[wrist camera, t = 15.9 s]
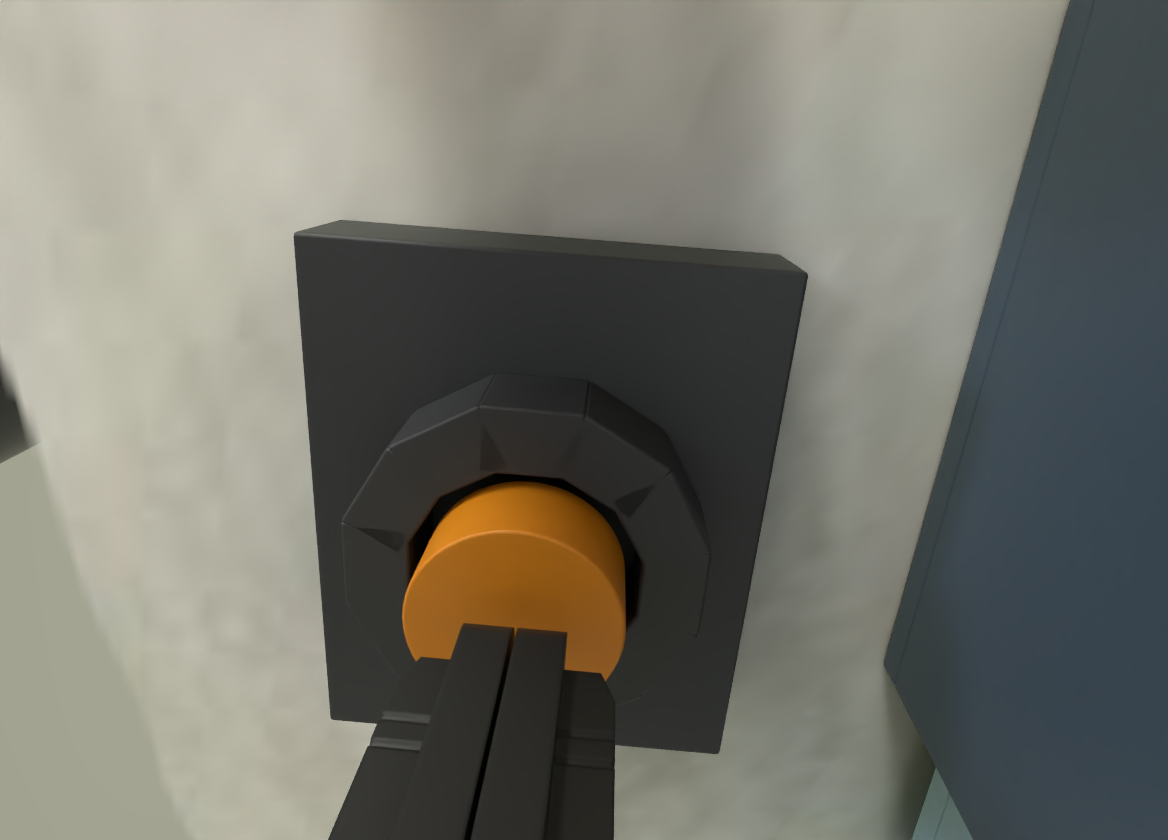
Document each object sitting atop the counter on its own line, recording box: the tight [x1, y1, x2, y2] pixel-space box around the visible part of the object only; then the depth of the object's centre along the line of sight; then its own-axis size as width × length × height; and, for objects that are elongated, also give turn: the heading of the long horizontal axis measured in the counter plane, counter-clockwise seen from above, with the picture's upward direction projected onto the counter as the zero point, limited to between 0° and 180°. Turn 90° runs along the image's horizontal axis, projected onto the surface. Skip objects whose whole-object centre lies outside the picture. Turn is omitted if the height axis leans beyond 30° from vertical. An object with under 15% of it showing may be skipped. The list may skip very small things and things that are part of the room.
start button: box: [402, 481, 626, 681], centre depth 12 cm, size 4×4×2 cm
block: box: [294, 220, 808, 754], centre depth 14 cm, size 9×11×4 cm
